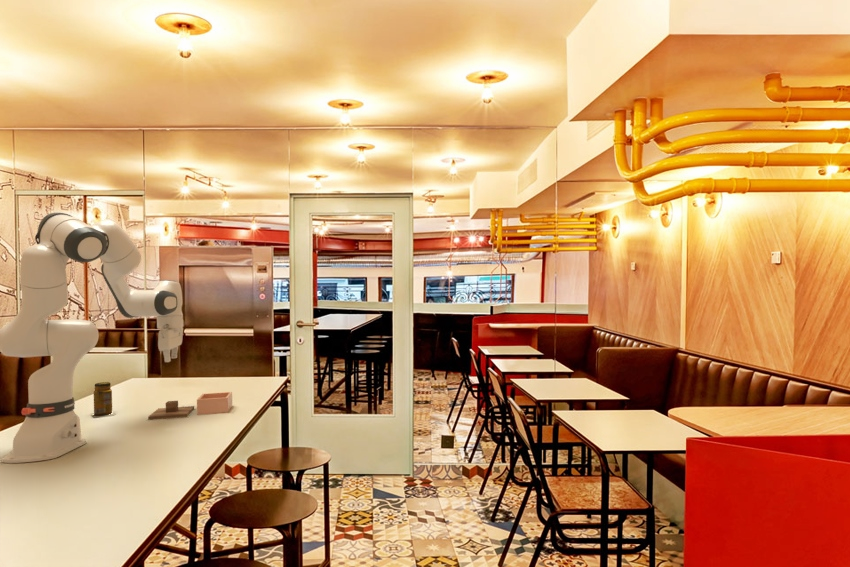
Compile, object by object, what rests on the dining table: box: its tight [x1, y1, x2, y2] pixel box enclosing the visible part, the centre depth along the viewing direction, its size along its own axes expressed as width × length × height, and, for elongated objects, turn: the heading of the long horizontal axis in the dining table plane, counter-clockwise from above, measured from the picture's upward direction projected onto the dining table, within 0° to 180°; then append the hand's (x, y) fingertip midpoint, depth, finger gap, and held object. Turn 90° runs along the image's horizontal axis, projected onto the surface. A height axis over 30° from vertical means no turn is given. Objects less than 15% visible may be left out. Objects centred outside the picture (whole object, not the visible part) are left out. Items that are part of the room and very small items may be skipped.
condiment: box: [90, 381, 116, 418], centre depth 203 cm, size 7×8×12 cm
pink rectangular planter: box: [196, 391, 233, 416], centre depth 204 cm, size 11×11×6 cm
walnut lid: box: [147, 400, 195, 421], centre depth 199 cm, size 13×13×5 cm
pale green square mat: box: [146, 408, 196, 422], centre depth 199 cm, size 14×14×1 cm
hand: (171, 360), depth 199 cm, fingers open, 8 cm apart
